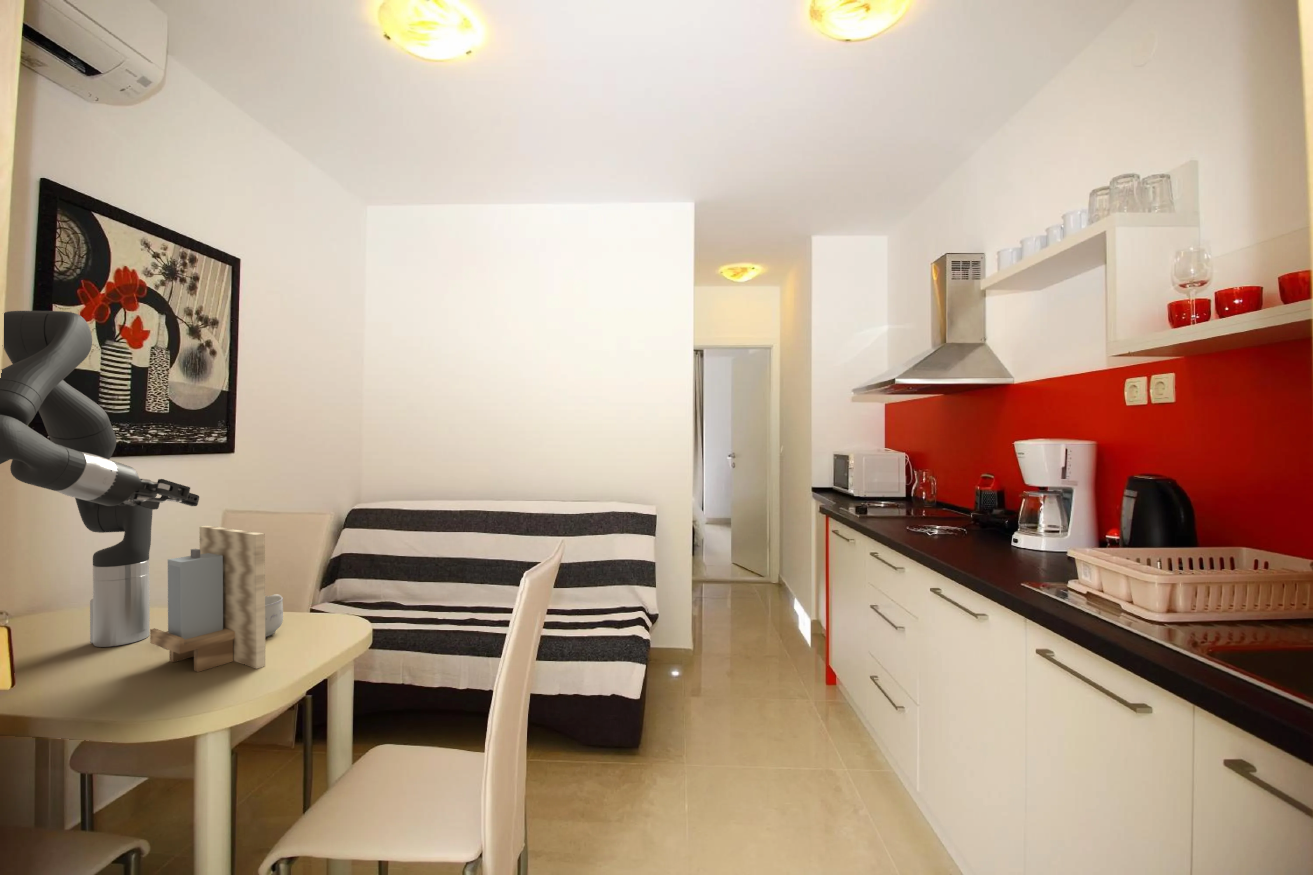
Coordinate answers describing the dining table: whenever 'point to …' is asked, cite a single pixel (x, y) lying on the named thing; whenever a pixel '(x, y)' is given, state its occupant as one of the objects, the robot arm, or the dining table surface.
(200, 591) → the bottle
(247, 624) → the wooden display stand
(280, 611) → the teacup
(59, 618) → the dining table surface
